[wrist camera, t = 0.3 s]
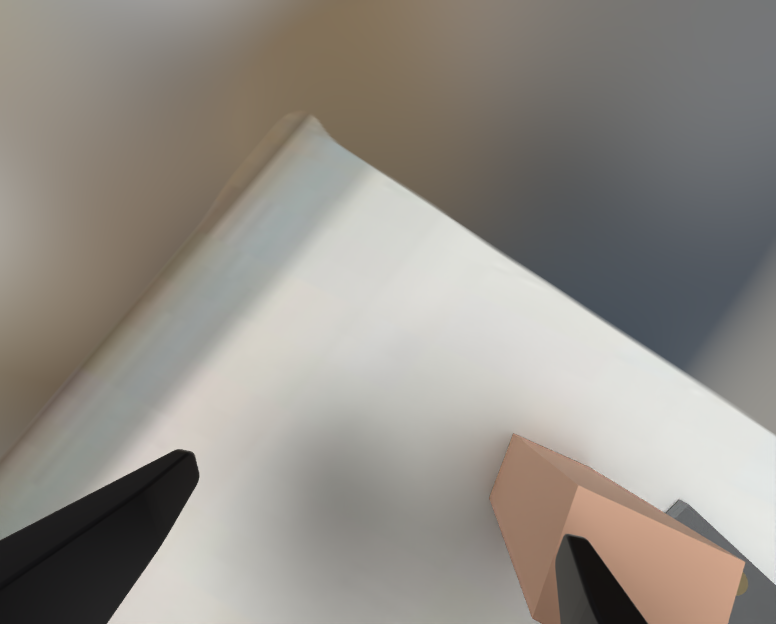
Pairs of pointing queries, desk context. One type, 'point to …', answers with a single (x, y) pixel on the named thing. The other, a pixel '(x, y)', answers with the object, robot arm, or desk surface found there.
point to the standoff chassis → (755, 591)
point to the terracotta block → (606, 540)
